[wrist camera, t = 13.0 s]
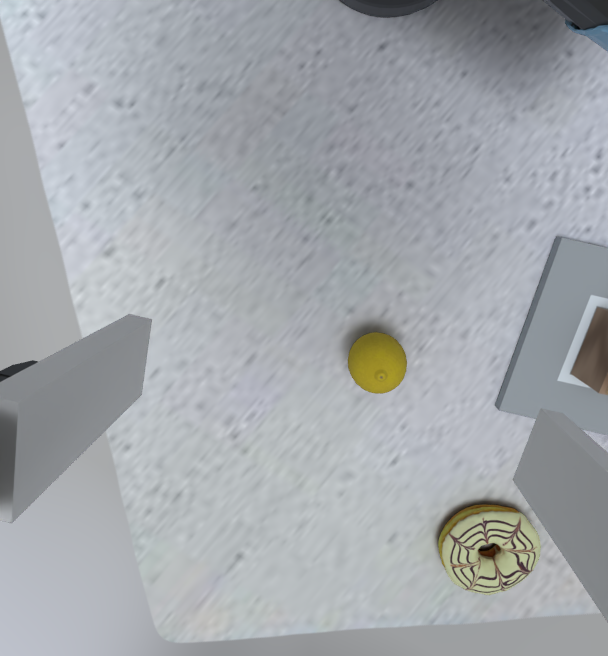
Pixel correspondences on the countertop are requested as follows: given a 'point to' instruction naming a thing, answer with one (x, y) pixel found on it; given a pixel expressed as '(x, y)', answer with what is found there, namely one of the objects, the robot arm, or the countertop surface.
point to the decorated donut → (497, 563)
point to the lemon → (377, 362)
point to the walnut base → (594, 354)
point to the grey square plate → (560, 339)
